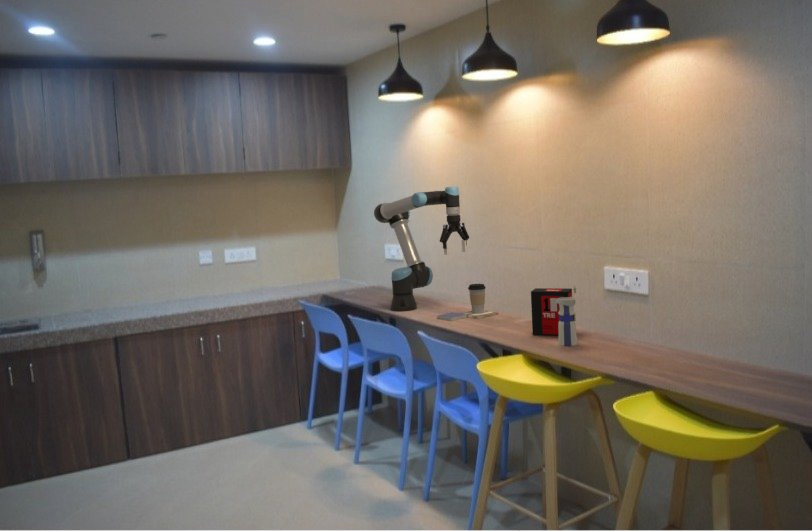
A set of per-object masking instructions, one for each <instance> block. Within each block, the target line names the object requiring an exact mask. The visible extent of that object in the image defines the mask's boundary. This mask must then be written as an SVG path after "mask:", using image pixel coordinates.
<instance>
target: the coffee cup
mask: <svg viewBox="0 0 812 531" xmlns="http://www.w3.org/2000/svg"><path fill="white" fill-rule="evenodd" d="M486 289H487V288H486V286H485V284H484V283H471V284H469V285H468V287H467V290H468V292H469V300H470V304H471V311H472V312H473V313H474V314H481V313H484V310H485V302H486Z"/></svg>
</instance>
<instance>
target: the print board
mask: <svg viewBox="0 0 812 531" xmlns="http://www.w3.org/2000/svg"><path fill="white" fill-rule="evenodd" d="M460 314H466V315H467V318H470V319H477V320H480V319H484V318H487V317H493V316H497V315H499V312H498V311H492V310H485V309H484V313H481V314H474V313H473V312H472V310H470V311H466V312H462V313H460Z"/></svg>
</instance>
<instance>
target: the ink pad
mask: <svg viewBox="0 0 812 531" xmlns="http://www.w3.org/2000/svg"><path fill="white" fill-rule="evenodd" d="M436 318H437V320H443V321H447V322H448V321H449V322H452V321H457V320H461V319H465V318H468V317H467V315H466V314H461V313H459V312H448V313H447V312H446V313H443V314H439V315H436Z"/></svg>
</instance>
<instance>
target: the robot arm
mask: <svg viewBox="0 0 812 531" xmlns="http://www.w3.org/2000/svg"><path fill="white" fill-rule="evenodd" d="M444 188H445V189H444V190H433V191H422V192H421V191H419V192H415V193H413V194H412V195H409V196H407V197H403V198H401V199H398V200H395V201H392V202H384V203H379V204H378V205H377V206H375V208H374V211H373V216H374V218H375V220H377V221H378V222H379V223H381V224H382V223H383V224H389V227H390V228H391V229H393V230H394V233H395V236H396V238H397V240H398V244H399V245H400V249H401V251H402V254H403V258H404V260H405V263H406V266H403V267H400V268H396V269H394V270H392V271H391V285H392V286H391V287H392V289H391V290H392V299H391V303H390V311H393V312H394V311H395V312H407V311H413V310H417V308H418V304H417V302H416V299H415V296H414V294H413V293H414V290H415V289H419V288H425V287H428V286H429V285H430V284H432V283H433V282H432V281H433V277H434V275H433V270H432V269H431V267H430V266H426V263H425V261H423V260H421V257H420V254H419V251H418V249H417V246H416V244H415V243H416V242H415V241H414V239H413V236H412V233H411V232H412V231H411V230H410V227H409V225H408V224H409V221H410V220H409V219H410V216H411V215H410V213H411V211H412V210H416V209H419V208H422V207H426V206H436V205H437V206H438V205H445V210H446V212H445V214H446V223H447V224H443V225H442V227H443V228H442V232H441V235H440V239H439V243H442V248H443V254H444V255H445V256H446V255H447V256H448V255H449V242H448V240H449V238H450V237H451V235H452V234H453V233H455V232H457V233H458V235H459V237H460V238H461V252H462V253H467V244H468V243H467V241H468V240H469V239H470V236H469V233H468V231H467V229H466V226H465V225H466V224H465V222H461V215H460V214H461V207H460V206H461V205H460V190H459V186H446V187H444Z"/></svg>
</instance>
